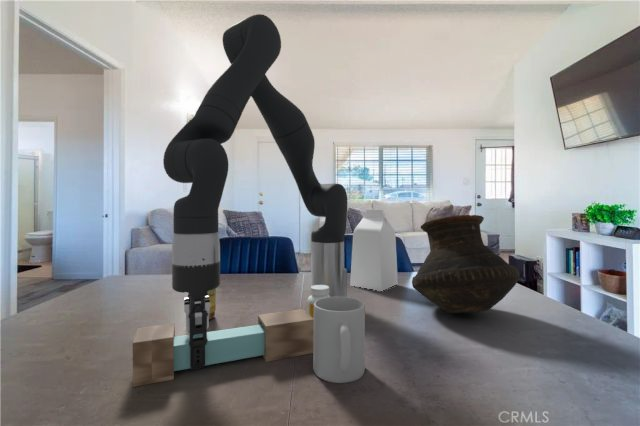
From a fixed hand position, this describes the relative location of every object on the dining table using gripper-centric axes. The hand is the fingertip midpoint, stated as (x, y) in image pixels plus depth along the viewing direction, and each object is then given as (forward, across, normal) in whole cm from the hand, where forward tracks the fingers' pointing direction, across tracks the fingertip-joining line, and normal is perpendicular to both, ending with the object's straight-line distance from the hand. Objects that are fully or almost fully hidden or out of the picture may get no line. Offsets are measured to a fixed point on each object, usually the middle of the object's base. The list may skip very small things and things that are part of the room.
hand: (197, 360), depth 54 cm
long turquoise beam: (0, 0, -3) cm, 3 cm away
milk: (+1, +36, -58) cm, 68 cm away
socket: (+1, 0, +6) cm, 6 cm away
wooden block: (+1, 0, -16) cm, 16 cm away
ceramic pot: (+1, +2, -62) cm, 62 cm away
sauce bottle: (+1, +24, -2) cm, 24 cm away
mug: (+1, -12, -21) cm, 24 cm away
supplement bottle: (+1, +6, -25) cm, 26 cm away
